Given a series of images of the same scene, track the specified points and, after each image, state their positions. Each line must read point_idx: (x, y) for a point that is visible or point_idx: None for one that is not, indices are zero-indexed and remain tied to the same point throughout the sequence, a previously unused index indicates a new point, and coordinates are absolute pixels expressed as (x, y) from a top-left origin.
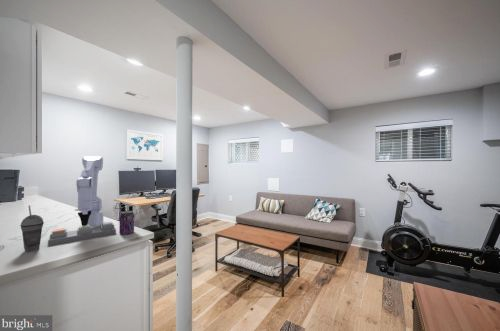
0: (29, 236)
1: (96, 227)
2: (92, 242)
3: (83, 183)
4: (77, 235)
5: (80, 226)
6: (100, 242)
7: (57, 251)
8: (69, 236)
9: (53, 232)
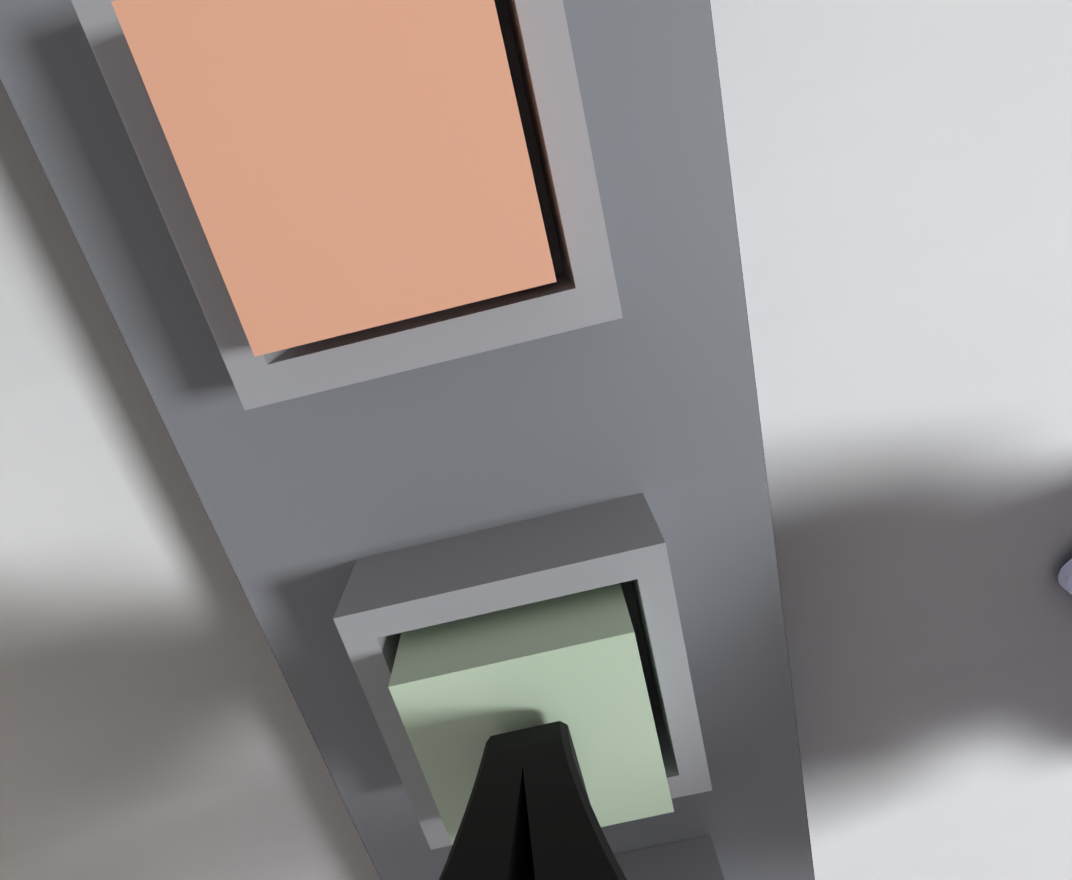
0: None
1: (791, 773)
2: (85, 768)
3: None
4: (247, 590)
5: (546, 673)
6: (56, 859)
7: None
8: (217, 451)
9: (141, 32)
